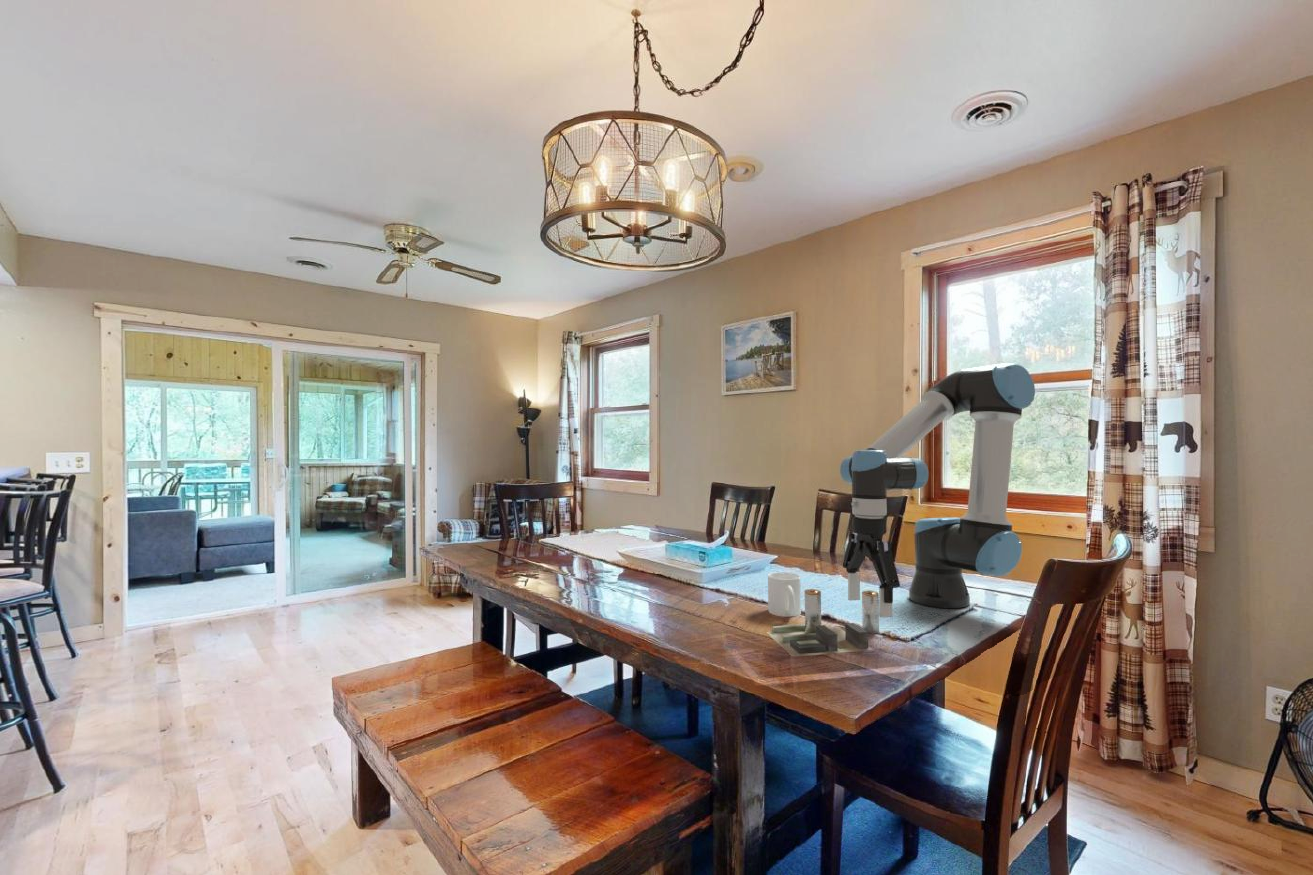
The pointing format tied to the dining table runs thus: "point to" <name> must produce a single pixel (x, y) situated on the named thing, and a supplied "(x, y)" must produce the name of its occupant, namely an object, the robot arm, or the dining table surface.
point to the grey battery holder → (820, 639)
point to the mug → (784, 594)
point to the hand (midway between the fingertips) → (869, 608)
